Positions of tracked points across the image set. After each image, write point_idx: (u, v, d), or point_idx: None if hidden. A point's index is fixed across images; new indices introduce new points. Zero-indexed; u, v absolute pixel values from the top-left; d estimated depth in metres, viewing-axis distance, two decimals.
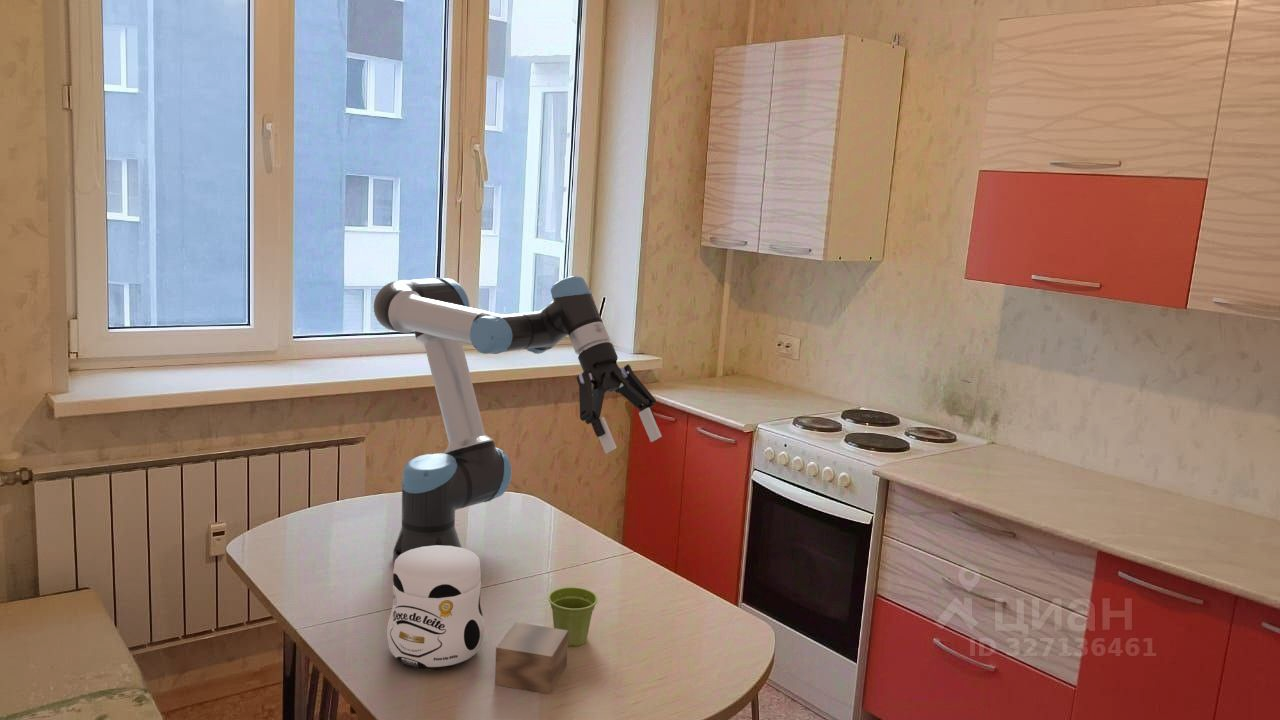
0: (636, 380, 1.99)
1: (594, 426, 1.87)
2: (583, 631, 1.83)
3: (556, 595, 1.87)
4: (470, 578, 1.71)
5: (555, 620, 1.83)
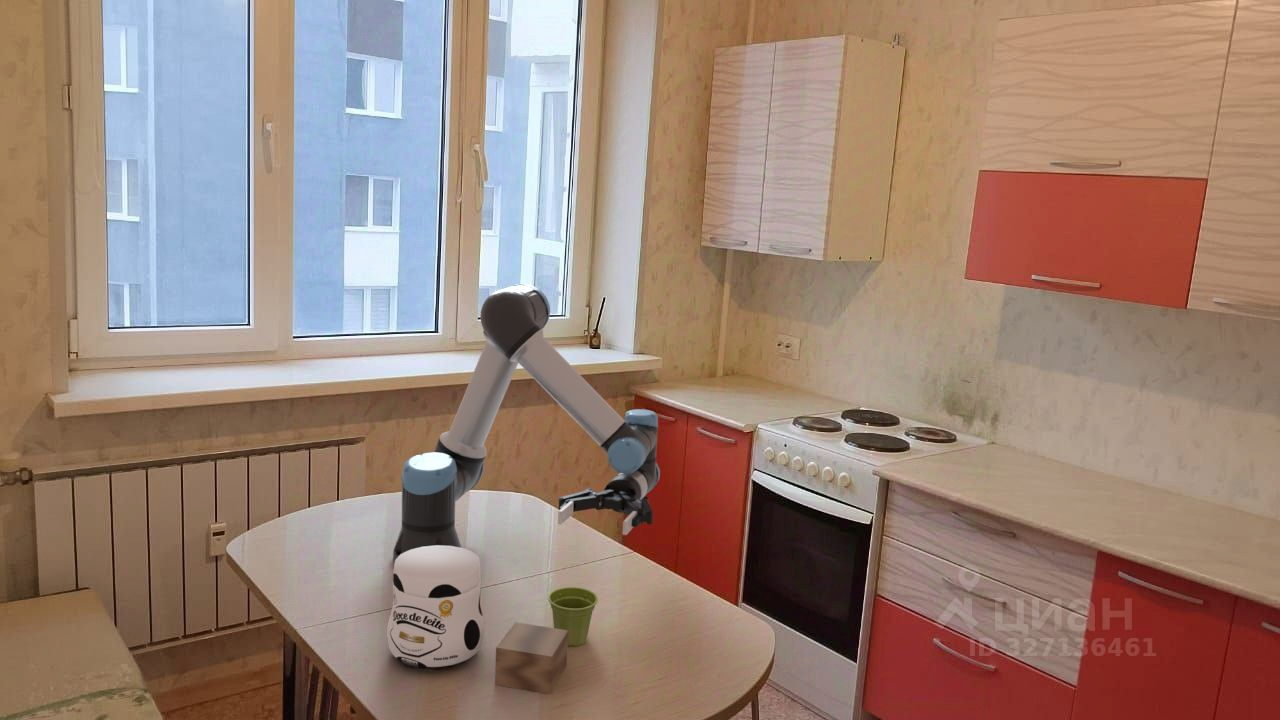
0: None
1: (640, 519, 1.94)
2: (583, 631, 1.83)
3: (556, 595, 1.87)
4: (470, 578, 1.71)
5: (555, 620, 1.83)
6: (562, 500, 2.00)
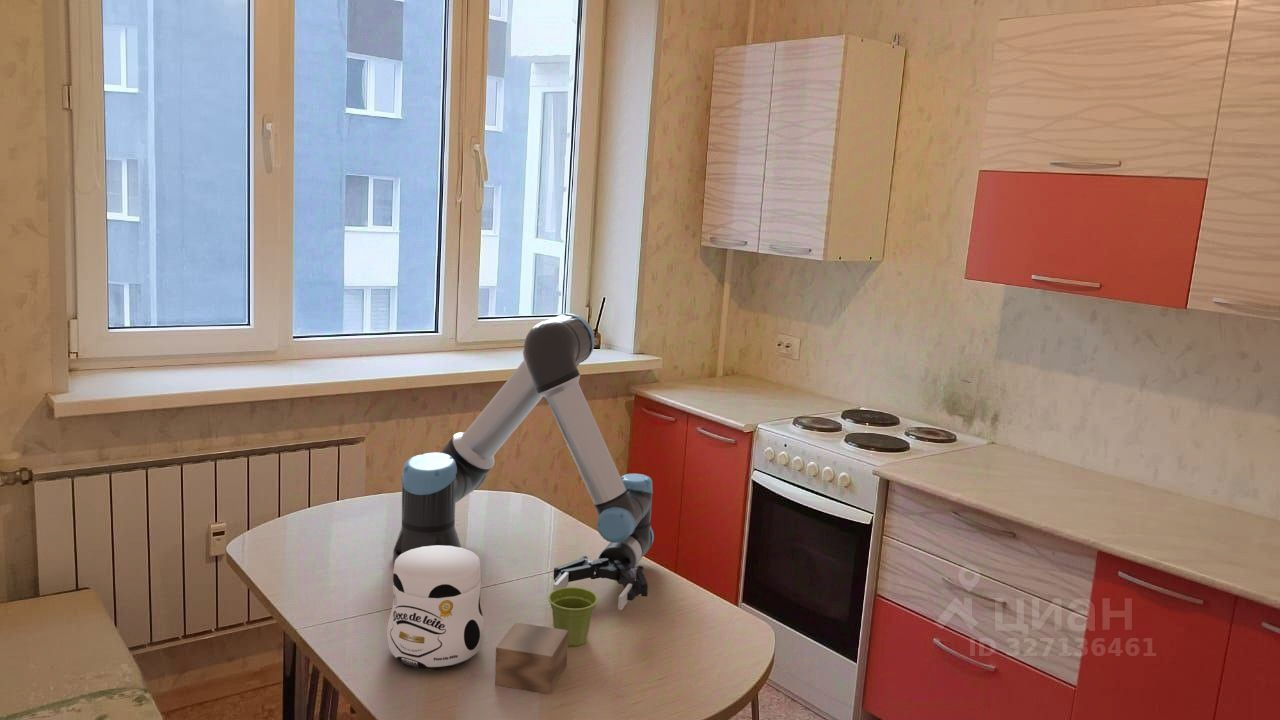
0: None
1: (635, 592, 1.94)
2: (583, 631, 1.83)
3: (556, 595, 1.87)
4: (470, 578, 1.71)
5: (555, 620, 1.83)
6: (557, 570, 2.00)
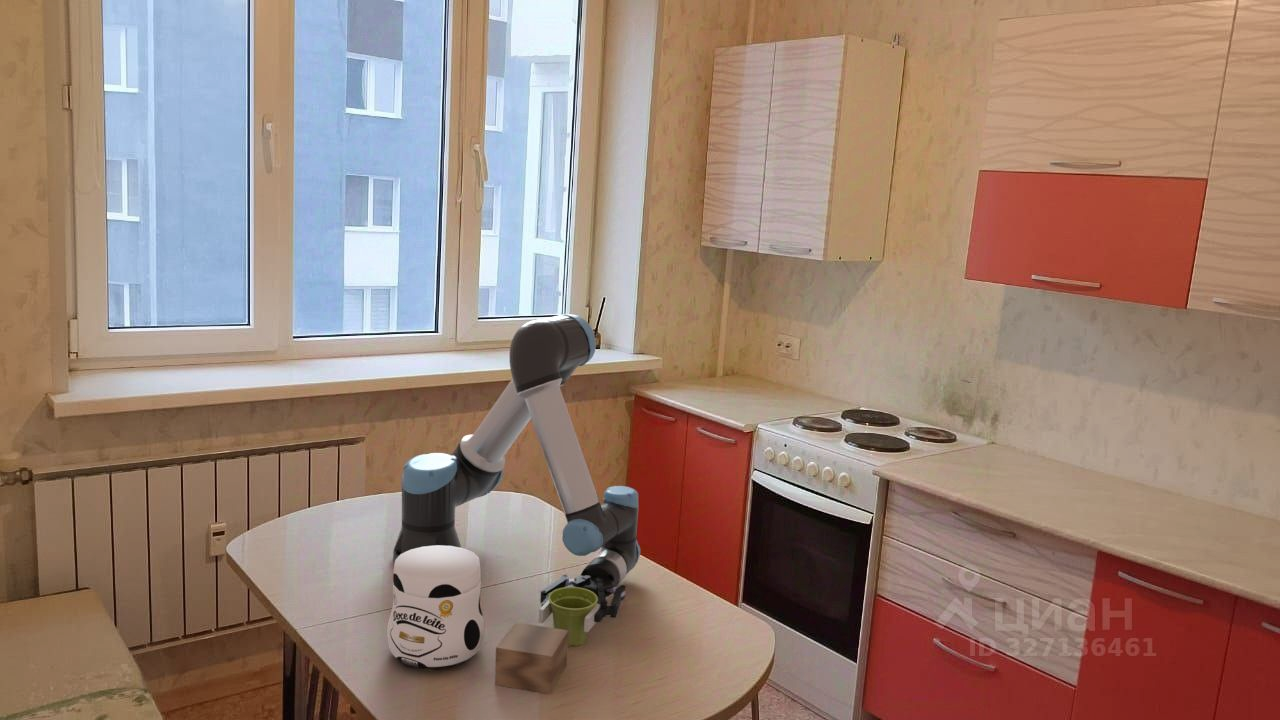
0: None
1: (603, 613, 1.84)
2: (583, 631, 1.83)
3: (556, 595, 1.87)
4: (470, 578, 1.71)
5: (555, 620, 1.83)
6: (544, 593, 1.89)
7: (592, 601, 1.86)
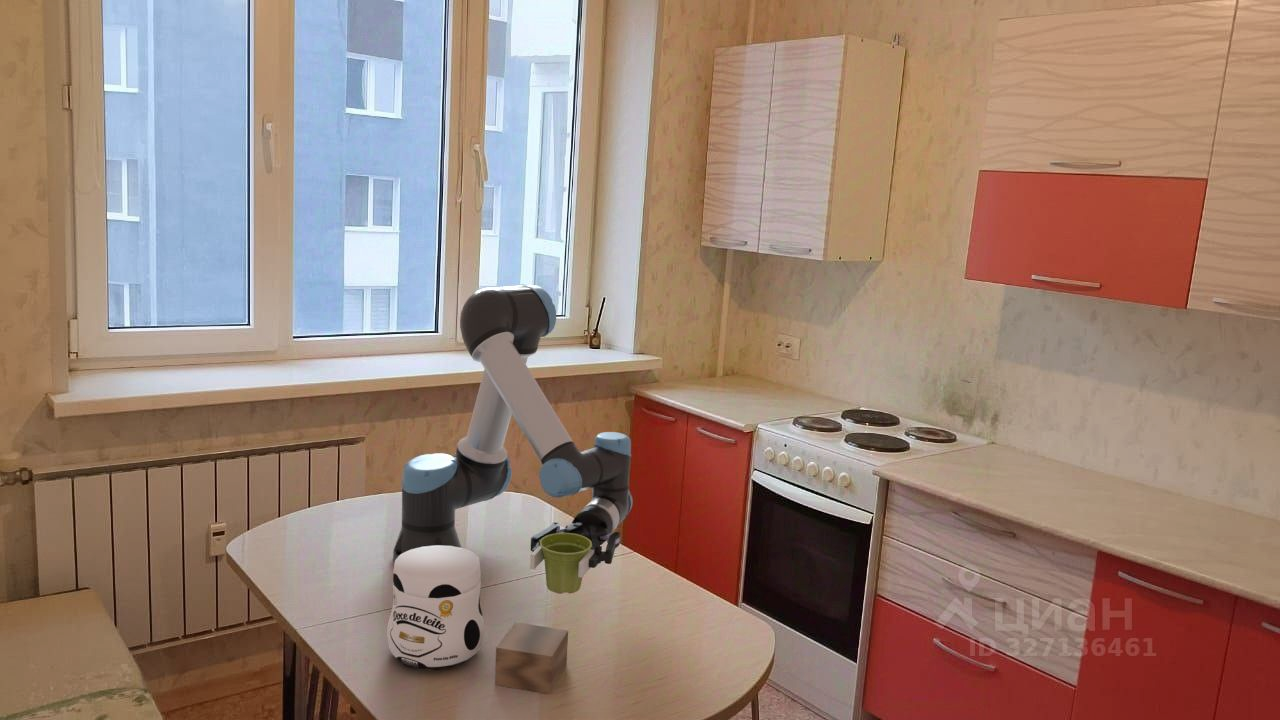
0: None
1: (598, 559, 1.74)
2: (576, 577, 1.73)
3: (548, 541, 1.77)
4: (470, 578, 1.71)
5: (547, 566, 1.73)
6: (534, 540, 1.79)
7: (586, 547, 1.76)
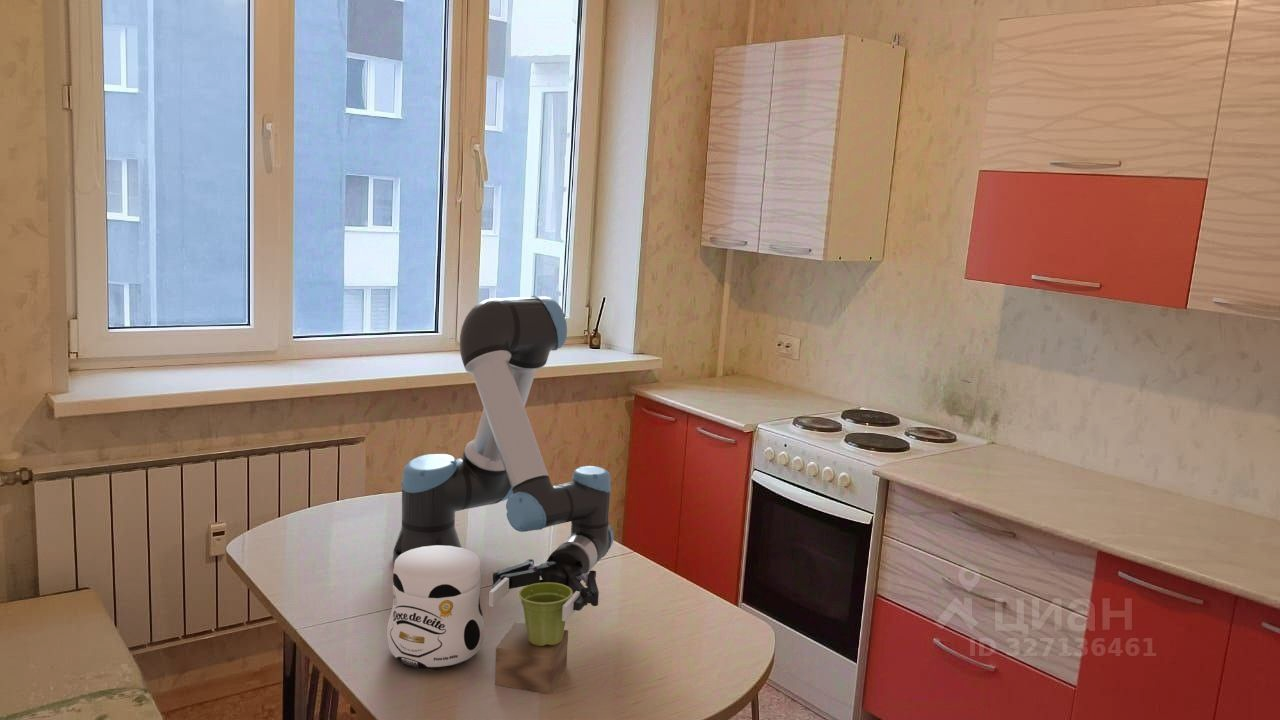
0: None
1: (583, 601, 1.69)
2: (557, 628, 1.67)
3: (528, 592, 1.71)
4: (470, 578, 1.71)
5: (527, 618, 1.67)
6: (496, 576, 1.75)
7: (567, 596, 1.71)
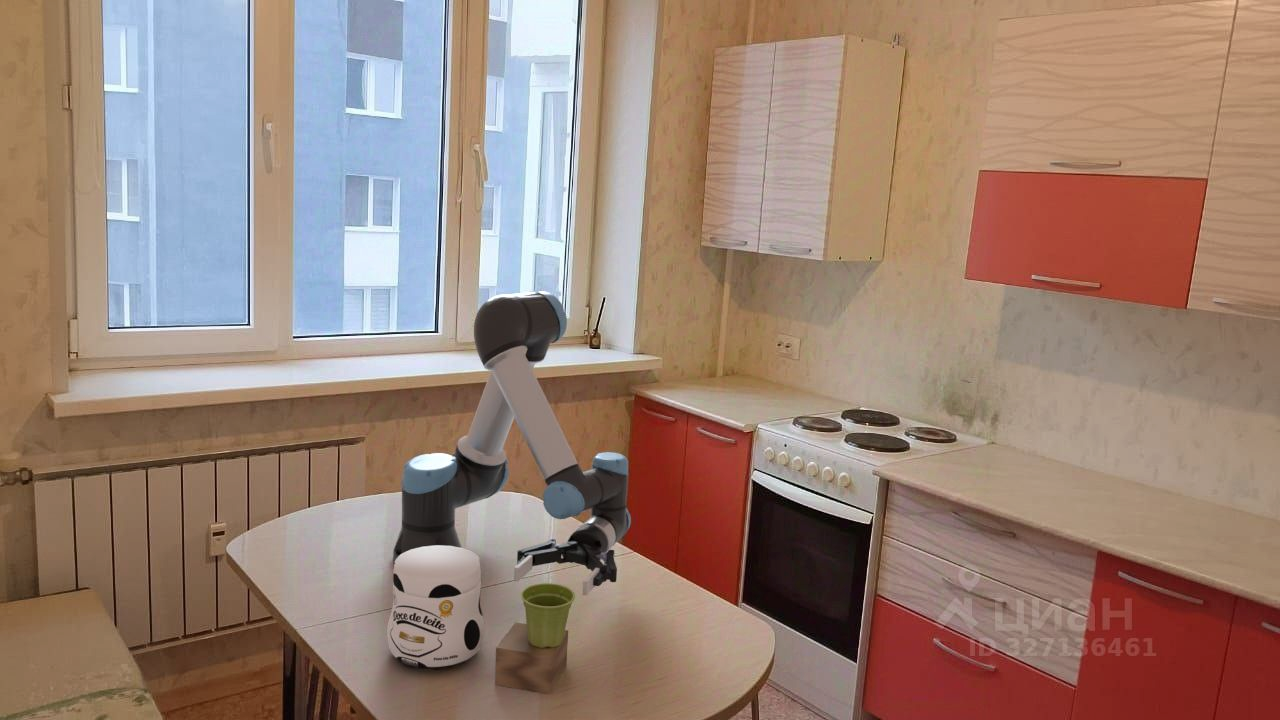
0: None
1: (603, 577, 1.79)
2: (559, 631, 1.67)
3: (529, 592, 1.71)
4: (470, 578, 1.71)
5: (528, 619, 1.67)
6: (521, 553, 1.86)
7: (569, 598, 1.71)
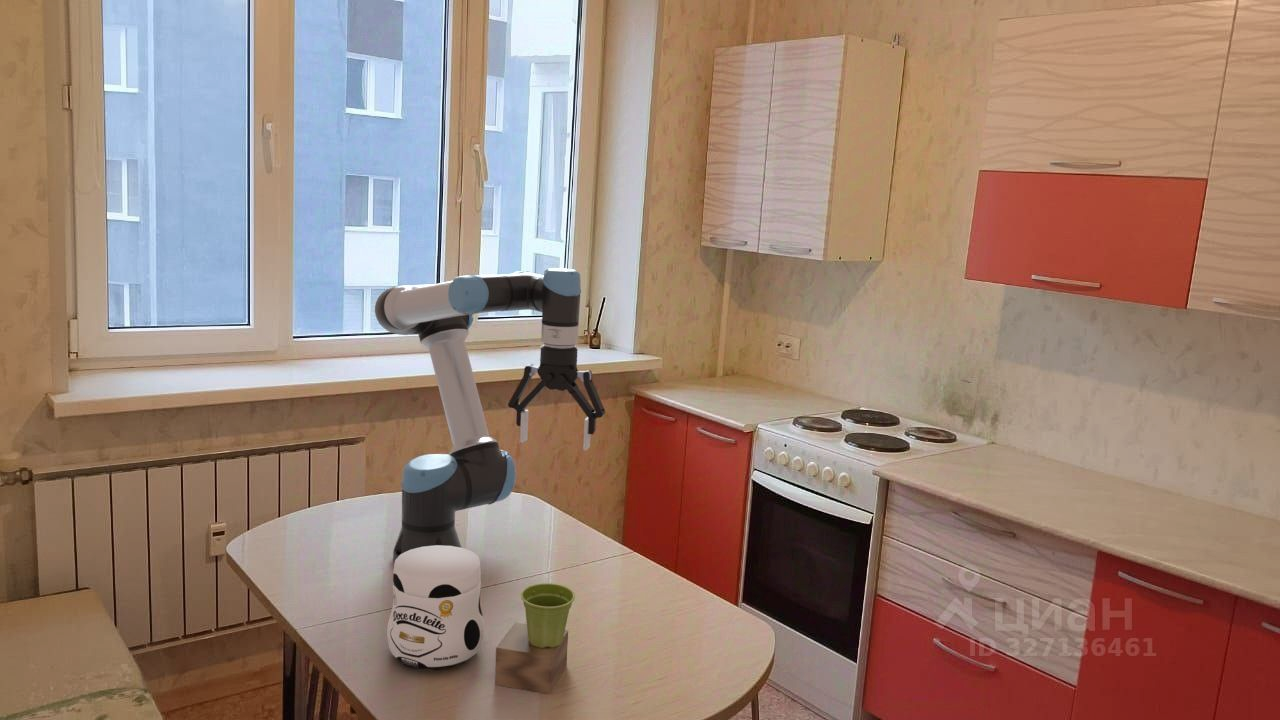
0: (588, 390, 1.97)
1: None
2: (559, 631, 1.67)
3: (529, 592, 1.71)
4: (470, 578, 1.71)
5: (528, 619, 1.67)
6: None
7: (569, 598, 1.71)
